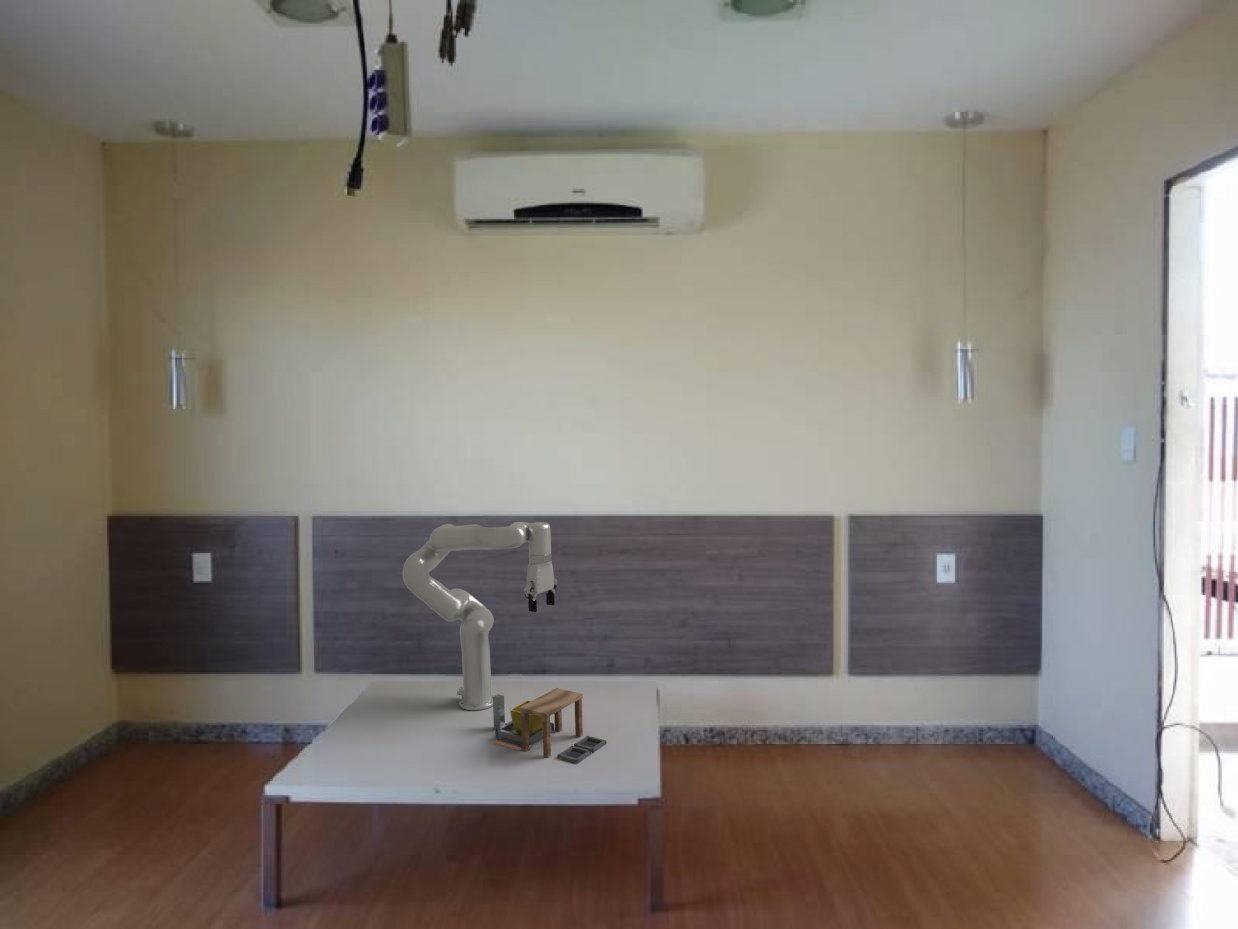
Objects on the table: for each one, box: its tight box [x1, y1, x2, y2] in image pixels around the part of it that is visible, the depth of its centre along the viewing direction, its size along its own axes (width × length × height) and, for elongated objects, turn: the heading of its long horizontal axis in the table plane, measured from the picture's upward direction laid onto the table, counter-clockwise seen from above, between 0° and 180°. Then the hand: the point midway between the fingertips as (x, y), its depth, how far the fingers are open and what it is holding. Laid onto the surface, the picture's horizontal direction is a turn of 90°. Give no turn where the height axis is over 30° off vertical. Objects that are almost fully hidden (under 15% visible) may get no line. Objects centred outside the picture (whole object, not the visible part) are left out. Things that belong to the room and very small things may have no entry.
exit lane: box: [492, 726, 555, 751], centre depth 235 cm, size 10×18×1 cm, turn 147°
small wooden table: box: [520, 687, 584, 758], centre depth 229 cm, size 10×18×13 cm, turn 147°
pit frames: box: [557, 735, 607, 765], centre depth 224 cm, size 7×15×1 cm, turn 147°
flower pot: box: [510, 700, 542, 735], centre depth 235 cm, size 9×9×9 cm
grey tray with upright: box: [492, 694, 555, 746], centre depth 236 cm, size 18×13×10 cm
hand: (541, 608), depth 259 cm, fingers open, 9 cm apart
